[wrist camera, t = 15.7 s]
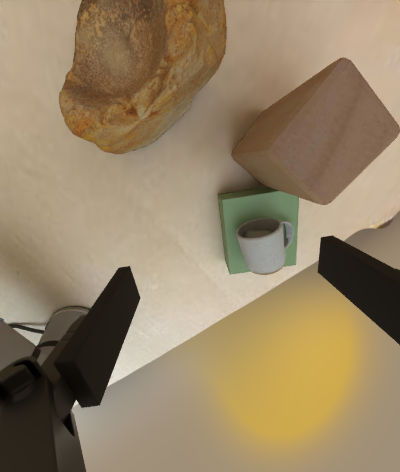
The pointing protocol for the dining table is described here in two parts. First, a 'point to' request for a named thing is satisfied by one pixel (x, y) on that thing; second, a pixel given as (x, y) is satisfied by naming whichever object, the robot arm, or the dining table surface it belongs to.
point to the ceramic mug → (264, 244)
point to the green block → (254, 207)
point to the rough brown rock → (139, 67)
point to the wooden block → (318, 135)
